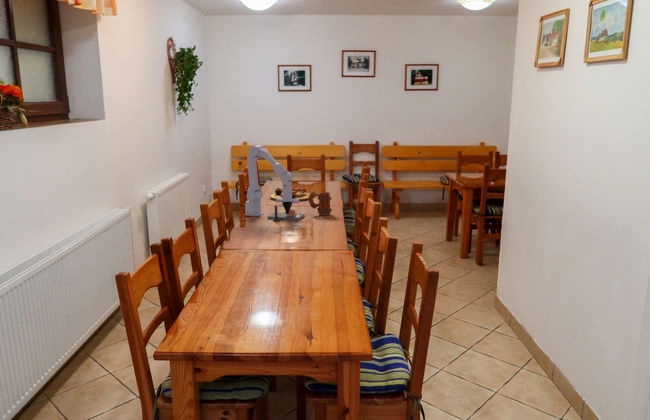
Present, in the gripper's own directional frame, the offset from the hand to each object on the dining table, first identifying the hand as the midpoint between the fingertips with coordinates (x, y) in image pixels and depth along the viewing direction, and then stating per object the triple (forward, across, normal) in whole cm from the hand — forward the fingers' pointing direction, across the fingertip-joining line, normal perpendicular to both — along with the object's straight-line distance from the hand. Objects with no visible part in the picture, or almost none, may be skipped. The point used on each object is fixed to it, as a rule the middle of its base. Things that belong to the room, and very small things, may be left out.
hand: (287, 213), depth 313 cm
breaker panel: (+2, -1, 0) cm, 3 cm away
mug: (+3, +17, +13) cm, 22 cm away
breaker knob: (+1, +3, 0) cm, 3 cm away
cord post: (+2, -4, -9) cm, 10 cm away
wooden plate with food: (+3, -21, +62) cm, 66 cm away
